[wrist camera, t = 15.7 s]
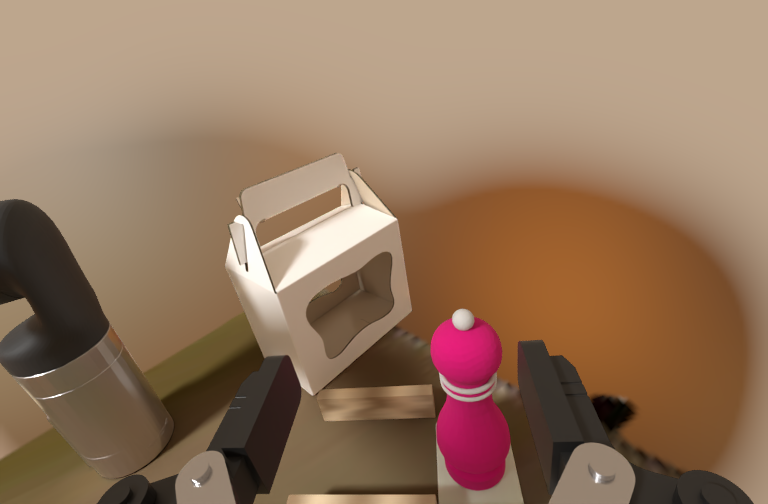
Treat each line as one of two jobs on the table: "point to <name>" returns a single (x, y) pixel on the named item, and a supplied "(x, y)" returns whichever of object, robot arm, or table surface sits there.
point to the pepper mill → (470, 401)
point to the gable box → (319, 271)
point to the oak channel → (371, 407)
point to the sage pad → (499, 500)
